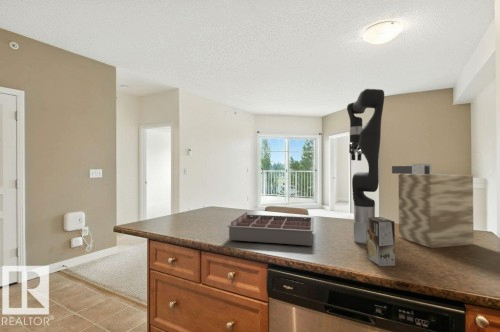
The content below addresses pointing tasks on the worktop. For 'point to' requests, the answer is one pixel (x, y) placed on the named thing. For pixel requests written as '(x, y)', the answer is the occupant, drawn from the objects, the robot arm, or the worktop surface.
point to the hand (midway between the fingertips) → (356, 160)
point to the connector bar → (412, 169)
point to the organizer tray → (272, 229)
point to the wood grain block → (436, 209)
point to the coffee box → (380, 241)
